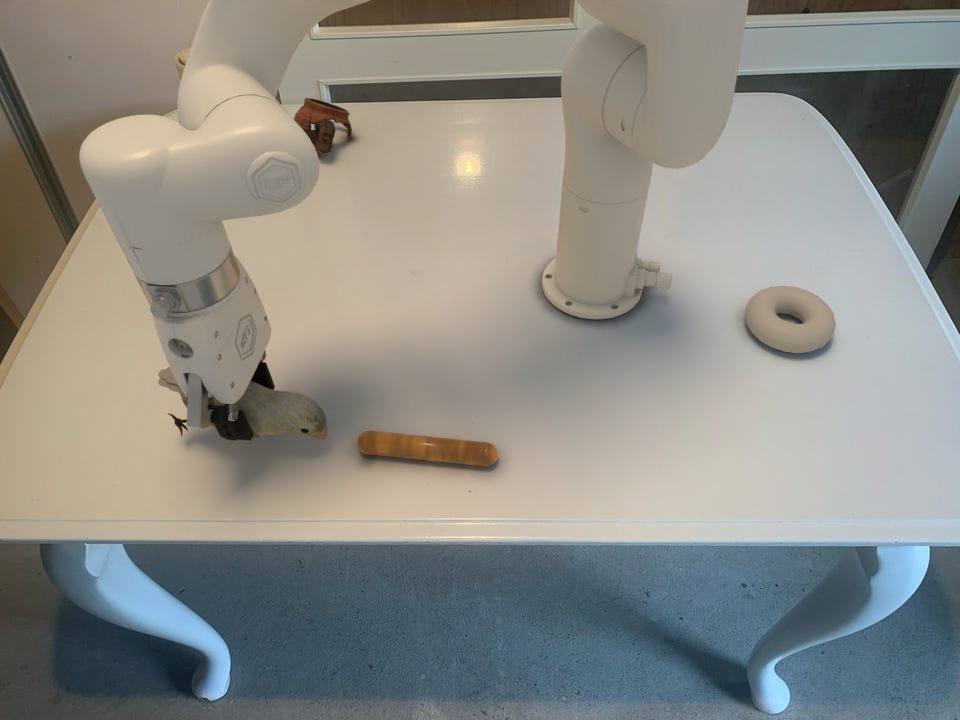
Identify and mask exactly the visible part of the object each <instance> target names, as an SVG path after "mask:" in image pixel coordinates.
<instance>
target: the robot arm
mask: <svg viewBox="0 0 960 720" xmlns="http://www.w3.org/2000/svg"><path fill="white" fill-rule="evenodd" d="M370 1H371V0H208V2H207V5H206V7H205V9H204V11H203V14H202V16H201V19H200V21H199V24H198V26H197V28H196V29H197V30H196V32H195V35H194V38H193V41H192V44H191V47H190V48H191V50H190V53H189V56H188V59H187V62H186V65H185V68H184V71H183V74H182V78H181V81H180V80H179V87H178V92H177V101H176V102H177V103H176V104H177V105H176V112H177V117H178V121H177V120H174V119H173V118H169V117H166V116H163V115H158V114H135V115H129V116H123V117H120V118H116V119H114V120H111V121H108V122H106V123H104V124H102V125H100V126H98V127H97V128H95V129H94V130H92V131H91V132H90V133H89V134H88V135H87V136H86V138H85V139H84V140H83V141H82V143H81V145H80V148H79V165H80V168H81V170H82V173H83V175H84V178H85V179H86V181H87V184H88V185H89V188H90V190H91V191H92V193H93V196H94V197H95V200H96V202H97V204H98V206H99V207H100V209H101V212H102V213H103V215H104V218H106V221H107V224H108V225H109V227H110V229H111V231H112V233H113V235H114V237H115V239H116V241H117V243H118V245H119V247H120V248H121V251H122V253H123V255H124V257H125V259H126V260H127V261H126V262H127V263H128V265H129V267H130V268H131V271H132V272H133V275H134V277H135V278H136V280H137V283H138V285H139V286H140V288H141V291H142V293H143V295H144V296H145V299H146V300H147V303H148V304H149V306H150V307H149V312H150V313H151V314H152V318H153V322H154V326H155V330H156V333H157V336H158V339H159V342H160V345H161V348H162V351H163V354H164V356H165V358H166V361H167V364H168V367H170V368H171V371H172V373H173V375H174V377H175V379H176V381H177V383H178V385H179V387H180V388H181V390H182V391H183V393H184V394H185V395H186V397H187V398H188V401H187V407H186V419H187V423H186V425H187V428H194V429H204V428H208V427H210V426H211V425H212V424H213V423H214V425H215V427H216V428H215V429H216V431H217V432H218V434H219V436H220V438H222V439H224V440H227V441H230V442H231V441H233V442H235V441H247V442H250V441H252V440H253V439H254V438H253V432H252V430H251V427H250V425H249V423H248V421H247V418H246V416H245V414H244V412H243V411H241V410H238V407H237V401H238V400H239V399H240V398H241V397H242V395H243V394H244V392H245V391H246V389H247V387H248V385H249V383H250V381H253V382H255V383H257V384H260V385H262V386H264V387H266V388H268V389H272V390H275V388H276V386H275V383H274V380H273V378H272V375H271V372H270V369H269V367H268V363H267V362H265V360H266V358H267V351H266V349H267V348H268V344H269V342H270V339H271V336H272V327H271V323H270V320H269V317H268V315H267V312H266V310H265V307H264V304H263V302H262V299H261V297H260V295H259V293H258V290H257V288H256V286H255V284H254V283H253V280H252V279H251V277H250V274H249V273H248V270H246V268H245V266H244V265H243V264H242V262H241V261H240V260H239V258H238V257H237V256H235V252H234V250H233V247H232V245H231V242H230V239H229V236H228V233H227V231H226V228H225V225H224V222H223V221H229V220H238V219H245V218H254V217H262V216H268V215H273V214H277V213H281V212H285V211H288V210H290V209H292V208H294V207H296V206H298V205H299V204H301V203H302V202H304V201H305V200H306V199H307V198H308V197H309V196H310V195H311V193H312V192H313V191H314V189H315V188H316V185H317V183H318V180H319V175H320V159H319V156H318V151H317V150H316V148H315V147H314V145H313V143H312V142H311V140H310V138H309V137H308V135H307V134H306V133H305V132H304V130H303V129H302V128H301V127H300V126H299V125H298V124H297V123H296V122H295V120H294V117H292V116H291V115H290V113H289V112H288V111H287V109H285V108H284V106H283V105H282V104H281V103H280V102H279V101H278V100H277V99H276V98H277V95H278V92H279V90H280V87H281V84H282V82H283V80H284V77H285V74H286V72H287V69H288V67H289V65H290V63H291V60H292V58H293V56H294V54H295V52H296V51H297V49H298V48H299V46H300V44H301V43H302V41H303V40H304V38H305V37H306V36H307V34H308V33H309V32H310V31H311V30H313V28H314V27H315V26H316V25H317V24H319V23H320V22H321V21H323V20H324V19H326V18H328V17H329V16H331V15H332V14H335V13H337V12H341V11H344V10H347V9H350V8H352V7H355V6H360V5H361V4H364V3H368V2H370ZM749 1H750V0H576V2H577V3H578V5H579V6H580V8H581V9H582V10H583V11H584V12H586V13H587V14H588V15H590V16H591V17H593V18H594V19H596V20H597V21H600V23H596V24H594V25H592V26H590V27H588V28H586V29H585V30H584V31H582V32H581V33H580V34H579V35H578V36H577V37H576V38H575V39H574V41H573V42H572V44H571V45H570V46H569V49H568V51H567V53H566V56H565V58H564V61H563V63H562V64H563V65H562V69H561V75H560V76H561V77H560V94H561V95H560V99H561V108H562V115H563V123H564V161H563V163H564V164H563V176H562V182H561V183H562V184H561V195H560V207H559V208H560V209H559V219H558V222H559V223H558V232H557V242H556V244H557V245H556V256H555V258H553V259H552V260H551V261H550V262H549V263H548V264H546V266H545V268H544V270H543V273H542V279H541V286H542V291H543V294H544V296H545V297H546V299H547V300H548V301H549V303H551V304H552V305H553V307H555V308H557V309H558V310H560V311H561V312H563V313H566V314H567V315H569V316H573V317H576V318H579V319H585V320H605V319H613V318H616V317H619V316H622V315H624V314H626V313H628V312H629V311H631V310H632V309H633V308H635V306H636V305H637V304H638V303H639V302H640V299H641V297H642V293H643V290H644V289H645V287H649V288H655V289H665V290H670V289H671V287H672V278H673V277H672V275H673V273H672V272H660V271H661V262H660V261H653V260H650V261H649V260H648V261H647V260H646V261H645V260H642V259H641V258H638V248H639V242H640V236H641V232H642V227H643V220H644V216H645V211H646V205H647V200H648V194H649V191H650V186H651V180H652V176H653V167H654V165H656V166H659V167H662V168H666V169H670V170H671V169H673V170H679V169H685V168H688V167H691V166H693V165H695V164H697V163H699V162H700V161H701V160H703V159H704V158H706V156H707V155H709V153H710V152H711V151H712V150H713V149H714V147H715V146H716V145H717V143H718V142H719V139H720V138H721V136H722V135H723V133H724V130H725V128H726V125H727V123H728V121H729V117H730V113H731V111H732V106H733V102H734V96H735V90H736V85H737V78H738V72H739V66H740V61H741V54H742V47H743V40H744V35H745V28H746V22H747V16H748V9H749ZM653 164H654V165H653ZM213 398H215V399H217V400H218V401H219V402H221V403H223V404H225V406H219V405H216V406H215V404H214V399H213Z"/></svg>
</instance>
